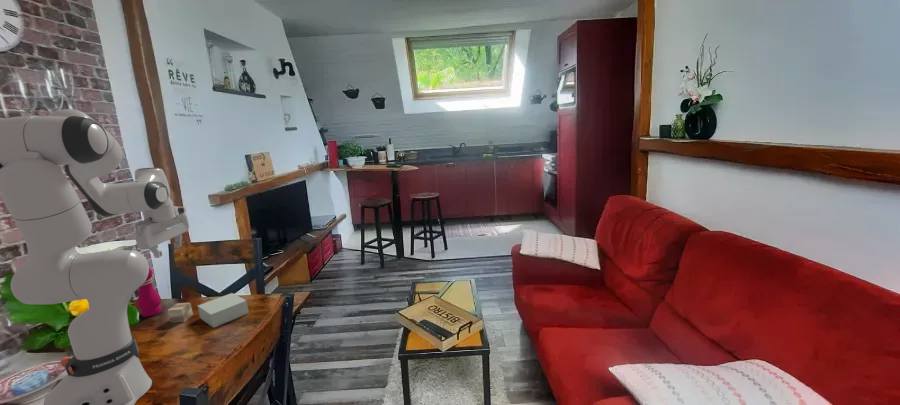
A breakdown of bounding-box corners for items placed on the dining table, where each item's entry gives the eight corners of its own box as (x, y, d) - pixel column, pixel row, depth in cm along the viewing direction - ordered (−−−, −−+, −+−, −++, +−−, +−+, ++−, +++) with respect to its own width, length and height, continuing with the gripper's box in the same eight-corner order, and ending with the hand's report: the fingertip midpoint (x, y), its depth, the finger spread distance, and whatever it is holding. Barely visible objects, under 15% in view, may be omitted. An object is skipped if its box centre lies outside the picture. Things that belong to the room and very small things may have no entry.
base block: (213, 327, 133) (210, 314, 132) (200, 318, 141) (197, 305, 140) (248, 313, 142) (246, 300, 141) (234, 304, 150) (232, 292, 149)
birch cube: (184, 321, 139) (181, 309, 138) (170, 322, 139) (167, 310, 138) (193, 314, 144) (190, 302, 143) (179, 315, 144) (176, 303, 143)
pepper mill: (154, 317, 144) (141, 266, 140) (135, 318, 144) (122, 267, 140) (168, 307, 151) (156, 259, 147) (150, 308, 151) (138, 260, 147)
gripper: (144, 222, 123) (154, 263, 126) (188, 206, 143) (196, 241, 146) (125, 223, 123) (136, 263, 126) (171, 207, 143) (180, 242, 146)
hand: (168, 252), depth 136 cm, fingers open, 8 cm apart
